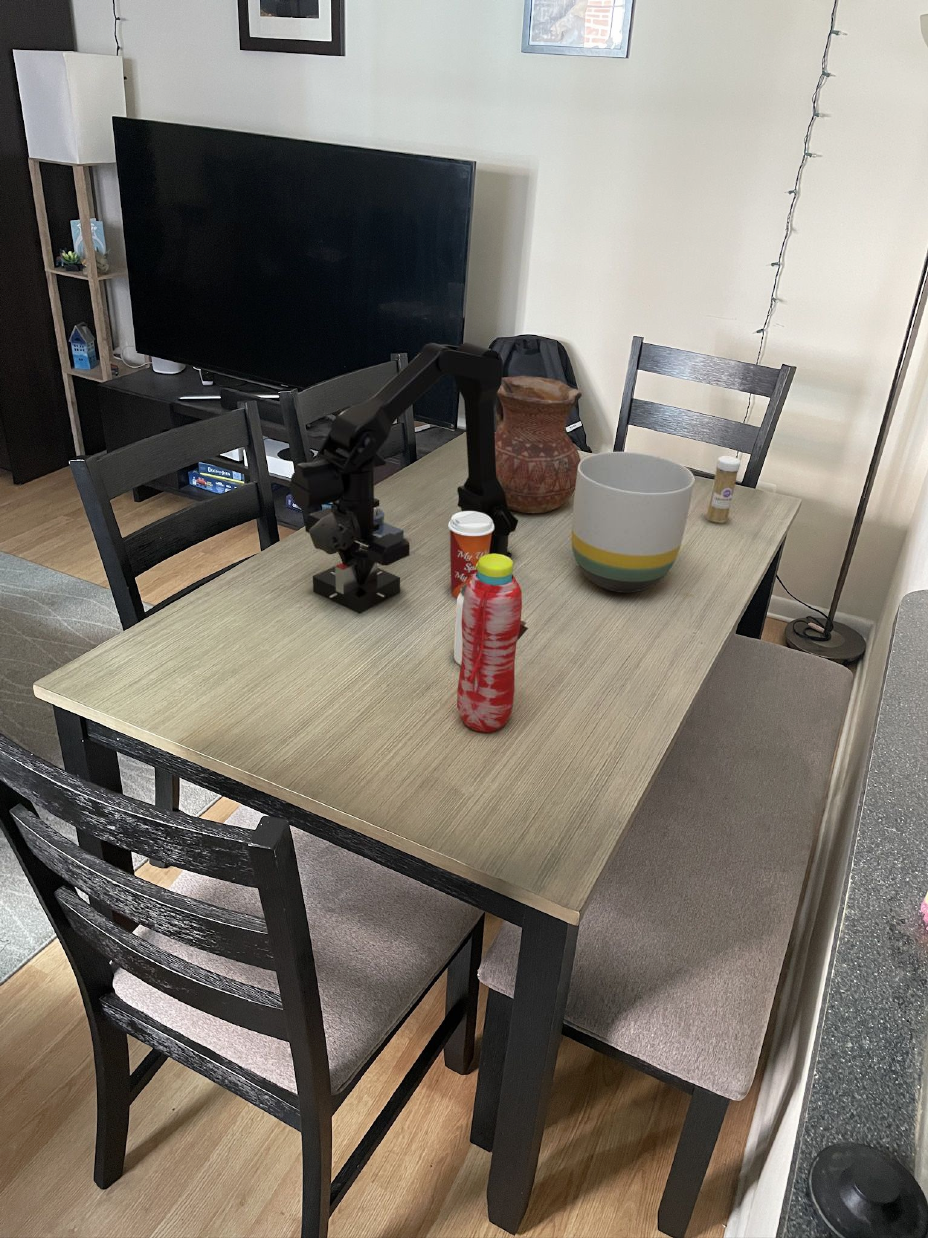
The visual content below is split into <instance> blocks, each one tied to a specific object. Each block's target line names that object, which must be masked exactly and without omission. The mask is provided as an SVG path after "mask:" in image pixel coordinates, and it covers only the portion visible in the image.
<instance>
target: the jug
mask: <svg viewBox="0 0 928 1238" xmlns="http://www.w3.org/2000/svg"><path fill="white" fill-rule="evenodd" d="M582 396H583V393H582V391H581V390H580V389H576V388H573V387H570V386H569V385H567V384H566V383H564V382H563V381H560V380H556V379H553V378H546V377H542V376H529V375H516V376H507V377H502V383H501V386H500V388H499V390H498V392H497V394H496V401H495V410H494V415H495V418H496V420H495V421H496V423H497V424H496V431H495V453H496V475H497V478H498V480H499V482H500V484H501V486H502V488H503V489H504V491H505V495H506V500H507V506H508V510H509V511H510V510H511V511H514V512H517V513H518V512H519V513H525V514H544V513H548V512H551V511H554V510H556V509H558V508H560V507H561V506H562V505H563V504H565V503H566V502H568V500H569V499H570V498H571V497H572V495H574V494H575V487H576V478H577V470H578V465H579V463H580V461H581V460H582V459H581V456H580V453H579V451H578V448H577V447H576V446H575V444H574V443H573V441H572V440H571V438H570V437H569V435H568V433H567V431H566V428H567V421H568V419H569V416H570V414H571V413H572V411H573V409H574V407H575V406H576V405H577V403H578V401H579V400H580V399H581V398H582Z"/></svg>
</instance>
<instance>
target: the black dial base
mask: <svg viewBox="0 0 928 1238" xmlns="http://www.w3.org/2000/svg"><path fill="white" fill-rule="evenodd" d="M337 565H338V564H336V565H335V566H337ZM335 566H331V567H330V568H328V569H326V570H323V571H321V572H319V573H316V574H314V575H312V592H313V593H315V594H317V595H319V596H321V597H324V598H326V599H327V600H329V601H331V602H334V603H336V604H338V605H339V606H342V607H344V608H346V609H349V610H350V611H353V612H354V613H357V614H360V615H361V614H362V613H364V612H366V611H368V610H370V609H371V608H374V607H375V606H377V605H379V604H381V603H383V602H385V601H387V600H389V599H391V598H393V597H395V596H396V595H398V594H401V577H400V576H399V575H396V574H393V573H391V572H389V571H386V570H384V569H381V568H380V567H377V578H376V579H374V580H372V581H370V582H368V583H366V584H364V585H362V586H360V587H358V588H356V589H353V590H351V591H349V592H347V593H345V594H342V593H340V592H337V591H336V578H335Z"/></svg>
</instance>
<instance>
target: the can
mask: <svg viewBox="0 0 928 1238" xmlns="http://www.w3.org/2000/svg"><path fill="white" fill-rule="evenodd" d="M467 585H468V583H467V584H465V585H463V586H462V587H461V589H460V594H459V596H458V598H456V608H455V609H456V610H455V628H454V646H453V648H454V649H453V658H454V661H455V662H456V663H457V664H458V665H459V667H461V662H462V645H463V642H462V608H463V600H464V595H465V590H466V587H467Z"/></svg>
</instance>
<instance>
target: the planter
mask: <svg viewBox="0 0 928 1238" xmlns="http://www.w3.org/2000/svg"><path fill="white" fill-rule="evenodd" d="M694 485H695V476H694V474H693V471H691V470H690V469H688V468H687V467H686V466H684V465H683V464H680V463H678V462H676V461H674V460H671V459H669V458H665V457H662V456H658V455H654V454H648V453H642V452H634V451H632V452H631V451H607V452H606V451H605V452H598V453H594V454H591V455H589V456H585V457H584V458H582V459H581V461H580V463H579V465H578V470H577V478H576V487H575V491H574V496H573V498H574V499H573V508H572V521H571V548H572V555H573V558H574V559H575V560H574V561H575V562H576V565H577V567H578V568H579V570H580V571H581V572H582V573H583V575H584V576H585V577H586V578H587V579H588V580H589V581H591V582H592V583H594V584H595V585H597V586H598V587H600V588H603V589H605V590H609V591H612V592H617V593H635V592H640V591H644V590H646V589H648V588H650V587H653V586H654V585H656V584H657V583H659V582H661V581H662V580H664V578H665V577H666V576H667V575H668V573H669V572H670V571H671V570H672V567H673V565H674V564H675V562H676V560H677V557H678V556H679V552H680V549H681V545H682V541H683V537H684V533H685V529H686V525H687V520H688V516H689V511H690V506H691V501H692V497H693V491H694V487H695V486H694Z"/></svg>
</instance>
